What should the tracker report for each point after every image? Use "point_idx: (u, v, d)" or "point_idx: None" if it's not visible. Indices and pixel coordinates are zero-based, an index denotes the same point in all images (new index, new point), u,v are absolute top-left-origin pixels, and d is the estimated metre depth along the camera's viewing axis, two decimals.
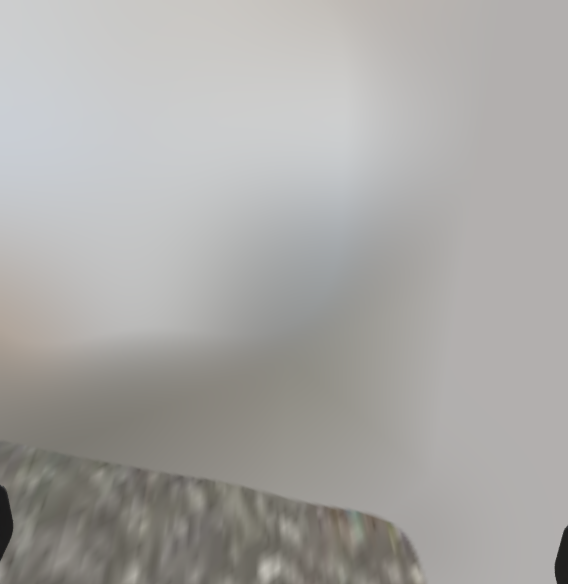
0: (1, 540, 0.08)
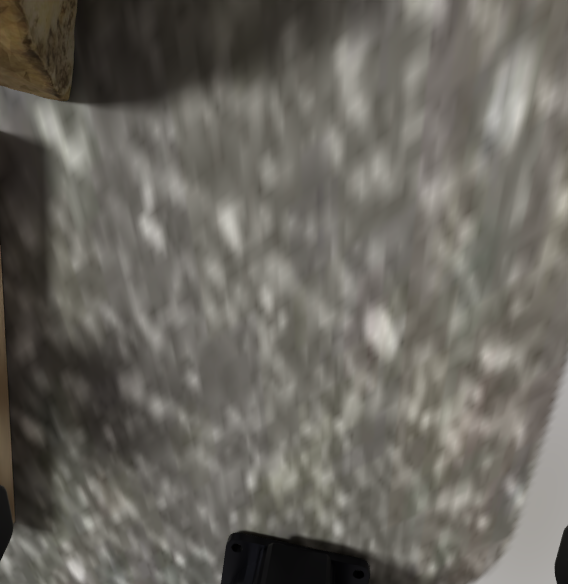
0: (1, 540, 0.08)
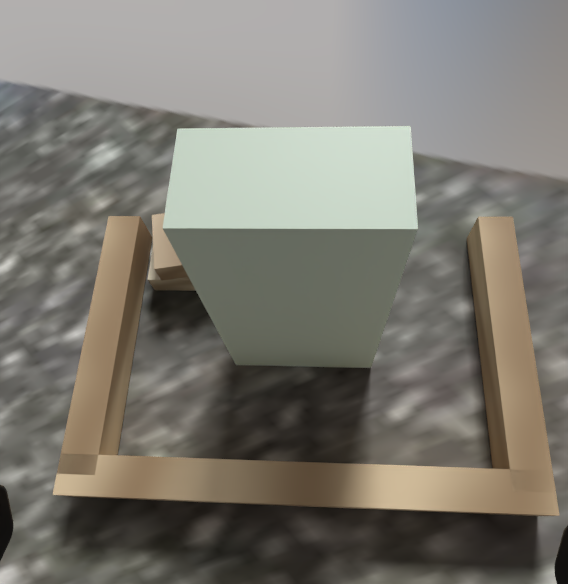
0: (1, 540, 0.08)
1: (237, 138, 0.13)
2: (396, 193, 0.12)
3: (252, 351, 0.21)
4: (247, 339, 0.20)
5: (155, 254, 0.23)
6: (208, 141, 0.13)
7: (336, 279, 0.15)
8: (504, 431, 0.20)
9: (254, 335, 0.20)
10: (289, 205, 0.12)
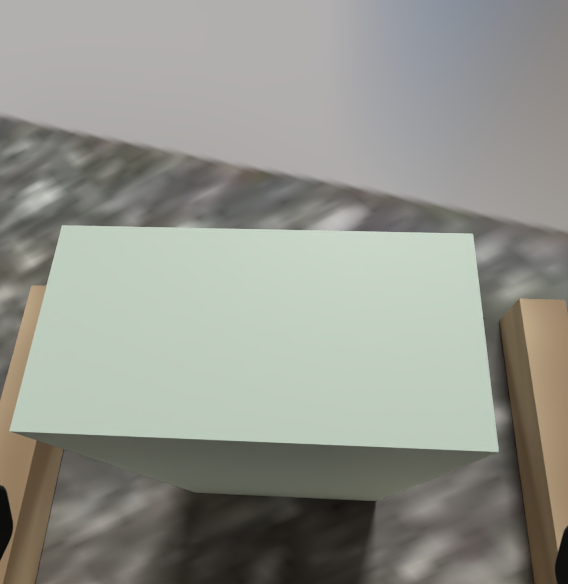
0: (1, 540, 0.08)
1: (165, 248, 0.08)
2: (454, 372, 0.07)
3: (214, 489, 0.15)
4: (205, 485, 0.14)
5: None
6: (113, 251, 0.08)
7: (335, 469, 0.09)
8: None
9: (213, 484, 0.14)
10: (251, 390, 0.07)
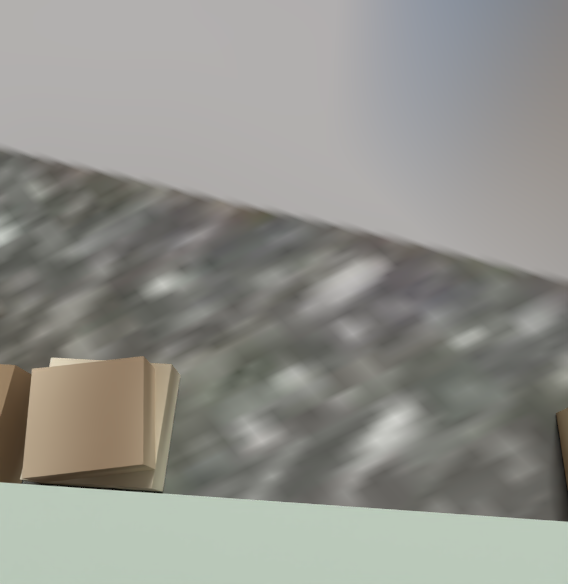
0: None
1: (30, 539, 0.04)
2: None
3: None
4: None
5: (28, 448, 0.13)
6: None
7: None
8: None
9: None
10: None
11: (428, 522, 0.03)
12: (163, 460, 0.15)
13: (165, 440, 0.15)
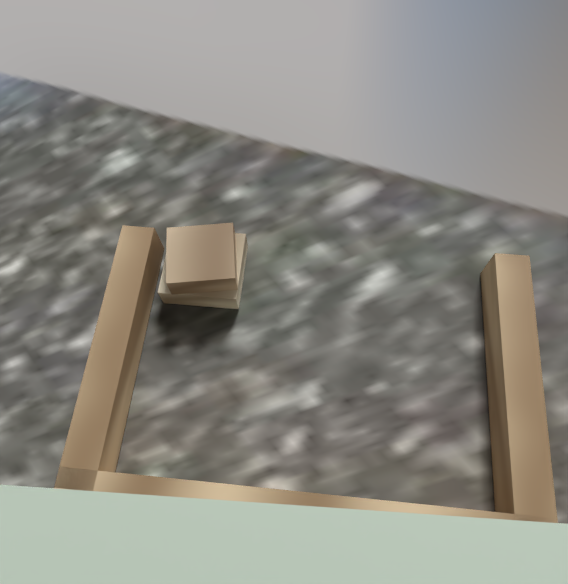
0: None
1: (33, 541, 0.04)
2: None
3: None
4: None
5: (168, 268, 0.23)
6: None
7: None
8: (510, 474, 0.20)
9: None
10: None
11: (427, 524, 0.04)
12: (240, 289, 0.25)
13: (241, 278, 0.25)
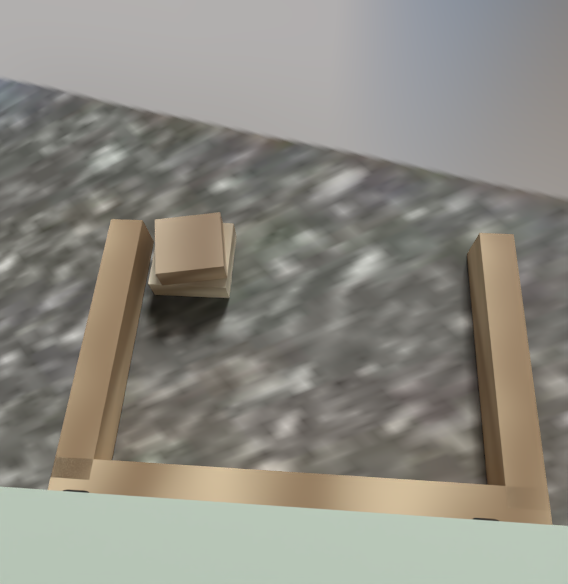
0: None
1: (32, 543, 0.04)
2: None
3: None
4: None
5: (157, 259, 0.23)
6: None
7: None
8: (500, 448, 0.20)
9: None
10: None
11: (427, 526, 0.04)
12: (229, 278, 0.25)
13: (230, 267, 0.25)
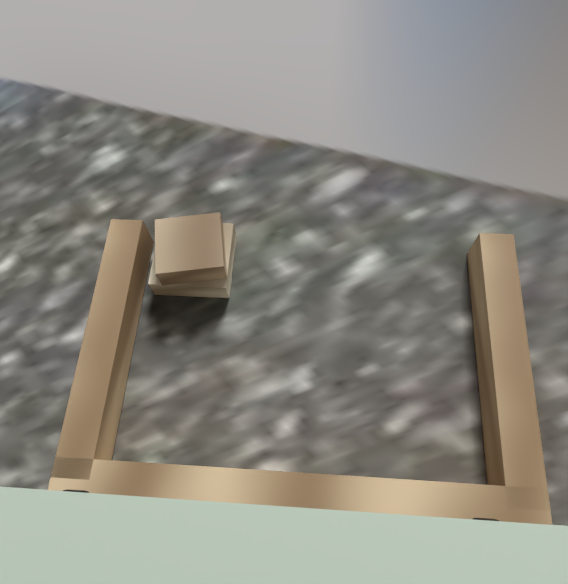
0: None
1: (32, 543, 0.04)
2: None
3: None
4: None
5: (157, 259, 0.23)
6: None
7: None
8: (500, 448, 0.20)
9: None
10: None
11: (426, 526, 0.04)
12: (229, 278, 0.25)
13: (230, 267, 0.25)
